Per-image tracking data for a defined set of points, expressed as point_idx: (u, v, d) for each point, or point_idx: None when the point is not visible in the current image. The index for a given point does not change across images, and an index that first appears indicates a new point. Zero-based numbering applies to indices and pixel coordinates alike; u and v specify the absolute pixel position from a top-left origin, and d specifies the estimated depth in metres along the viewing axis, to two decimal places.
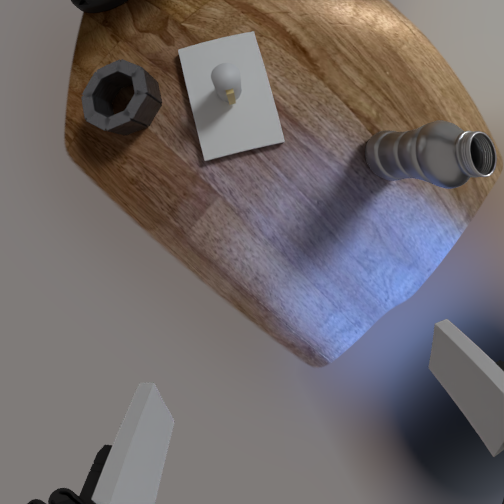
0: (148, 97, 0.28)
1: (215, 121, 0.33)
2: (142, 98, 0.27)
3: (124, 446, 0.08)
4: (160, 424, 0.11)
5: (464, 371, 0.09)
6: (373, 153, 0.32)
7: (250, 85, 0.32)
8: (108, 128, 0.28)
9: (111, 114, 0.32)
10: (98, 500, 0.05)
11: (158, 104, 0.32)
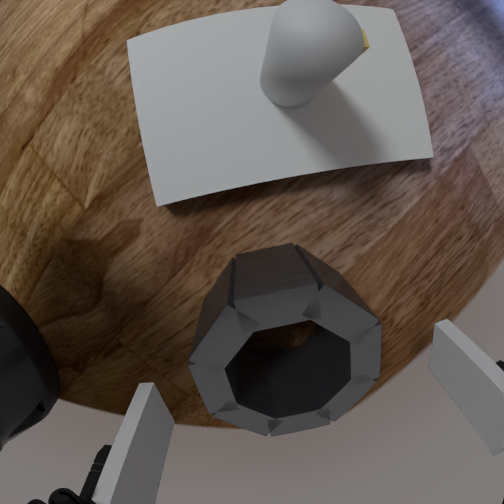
0: (323, 279, 0.12)
1: (362, 120, 0.14)
2: (332, 297, 0.11)
3: (124, 446, 0.08)
4: (160, 424, 0.11)
5: (464, 371, 0.09)
6: None
7: None
8: (376, 374, 0.12)
9: (297, 355, 0.18)
10: (98, 500, 0.05)
11: (303, 251, 0.15)
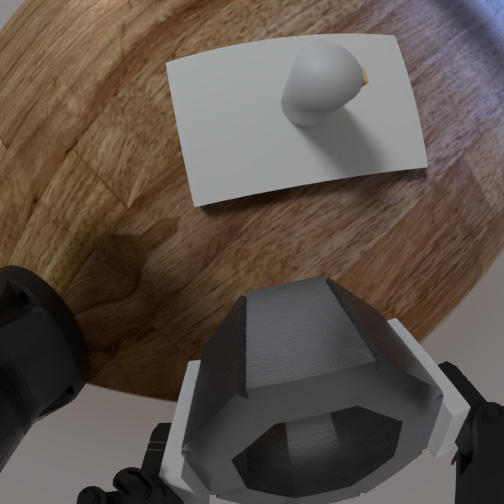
0: (379, 346, 0.07)
1: (366, 136, 0.16)
2: (392, 375, 0.06)
3: (186, 419, 0.09)
4: None
5: None
6: None
7: None
8: (424, 445, 0.08)
9: None
10: (167, 476, 0.07)
11: (339, 290, 0.11)
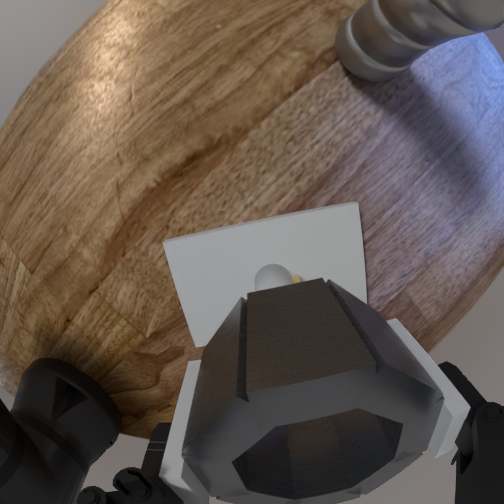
0: (379, 349, 0.07)
1: None
2: (393, 377, 0.06)
3: (186, 419, 0.09)
4: None
5: None
6: (384, 72, 0.17)
7: (265, 250, 0.23)
8: (424, 447, 0.08)
9: None
10: (167, 475, 0.07)
11: (340, 291, 0.11)
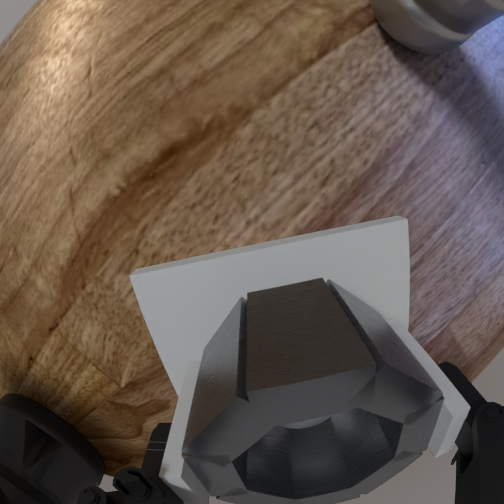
0: (379, 348, 0.07)
1: None
2: (393, 377, 0.06)
3: (186, 419, 0.09)
4: None
5: None
6: (443, 39, 0.09)
7: None
8: (424, 447, 0.08)
9: None
10: (167, 475, 0.07)
11: (340, 291, 0.11)
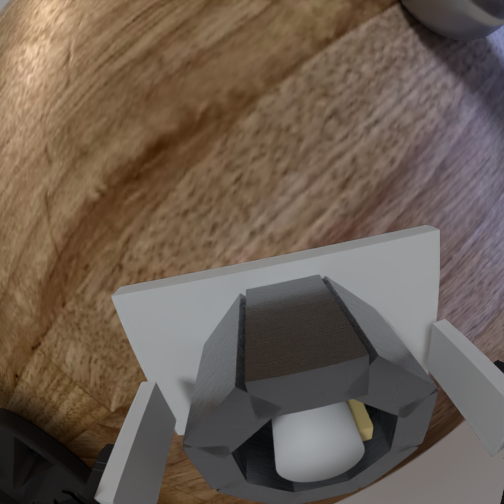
0: (373, 341, 0.07)
1: None
2: (386, 369, 0.07)
3: (127, 445, 0.08)
4: (162, 423, 0.11)
5: (461, 371, 0.09)
6: (478, 23, 0.07)
7: None
8: (420, 440, 0.08)
9: None
10: (101, 499, 0.05)
11: (336, 288, 0.11)
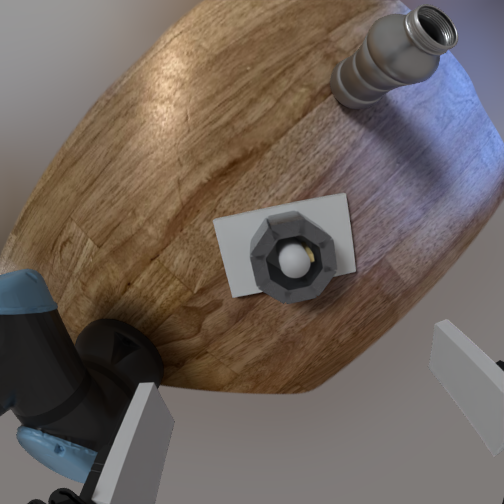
0: (306, 219, 0.29)
1: None
2: (309, 225, 0.28)
3: (124, 446, 0.08)
4: (160, 424, 0.11)
5: (464, 371, 0.09)
6: (363, 104, 0.28)
7: None
8: (335, 267, 0.29)
9: None
10: (98, 500, 0.05)
11: (300, 213, 0.33)
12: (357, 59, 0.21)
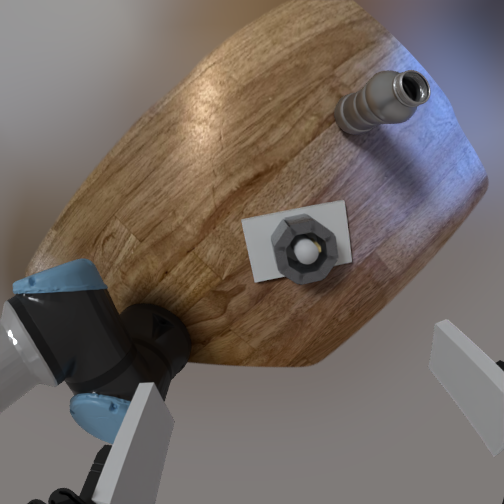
0: (315, 220, 0.38)
1: None
2: (318, 224, 0.38)
3: (124, 446, 0.08)
4: (160, 424, 0.11)
5: (464, 371, 0.09)
6: (359, 132, 0.37)
7: None
8: (337, 256, 0.39)
9: None
10: (98, 500, 0.05)
11: None
12: (357, 101, 0.31)
